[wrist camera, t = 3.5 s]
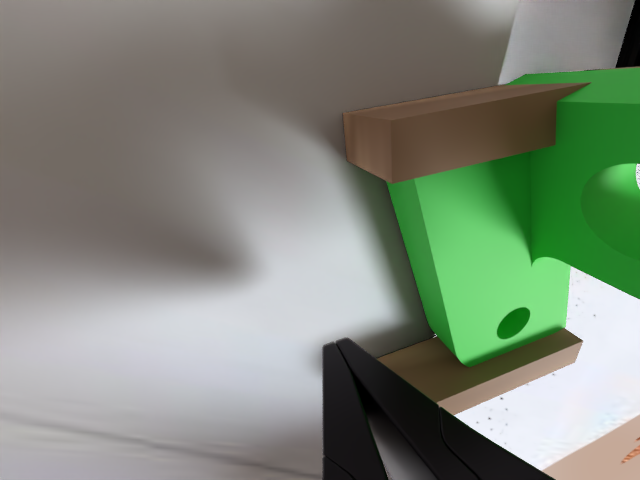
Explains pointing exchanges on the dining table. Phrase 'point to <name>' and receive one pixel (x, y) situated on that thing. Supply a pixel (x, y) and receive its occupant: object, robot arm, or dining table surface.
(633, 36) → the u-shaped bracket
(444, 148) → the beam rails
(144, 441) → the dining table surface
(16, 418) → the dining table surface
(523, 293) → the mechanical part
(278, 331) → the dining table surface
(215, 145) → the dining table surface
